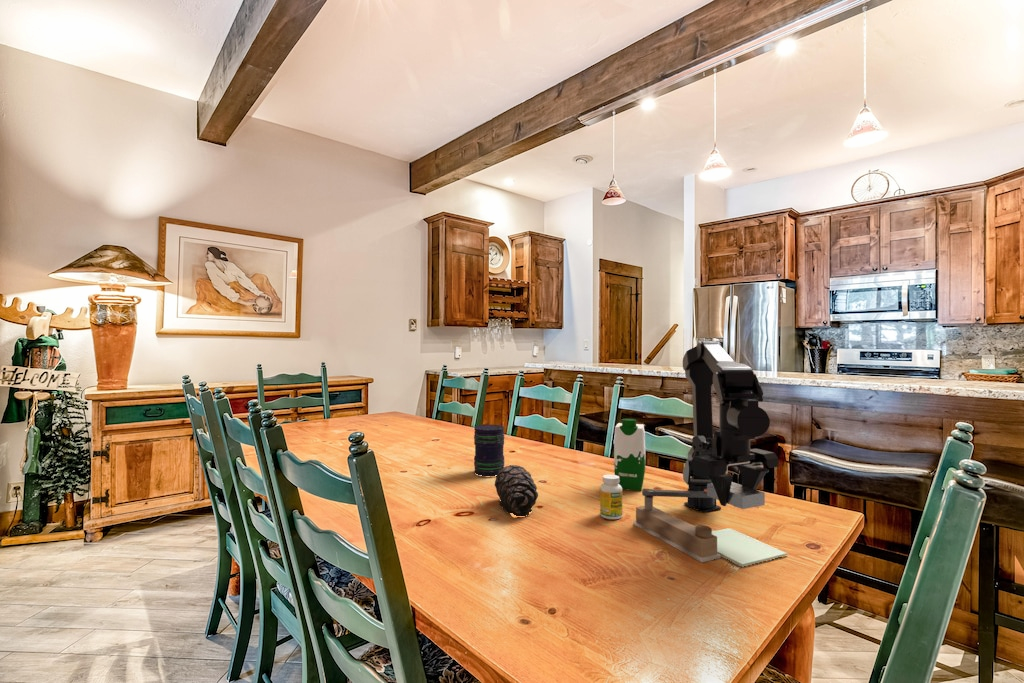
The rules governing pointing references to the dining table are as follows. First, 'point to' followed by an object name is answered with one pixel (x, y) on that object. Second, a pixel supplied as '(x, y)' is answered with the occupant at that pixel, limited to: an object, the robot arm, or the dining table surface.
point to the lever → (675, 493)
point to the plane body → (677, 532)
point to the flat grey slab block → (740, 496)
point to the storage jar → (488, 449)
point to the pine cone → (516, 490)
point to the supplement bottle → (611, 497)
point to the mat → (743, 548)
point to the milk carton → (629, 454)
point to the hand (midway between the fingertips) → (734, 503)
